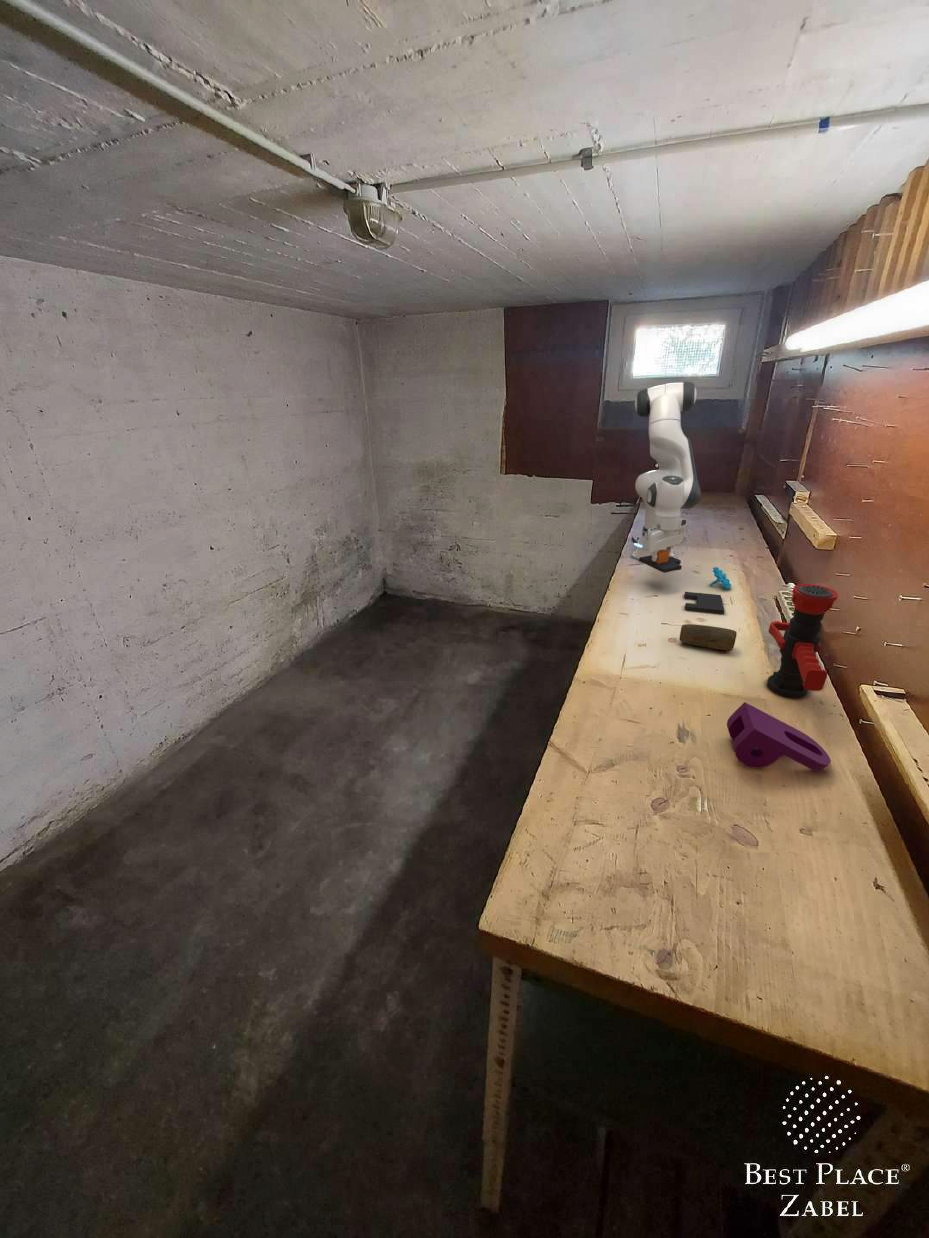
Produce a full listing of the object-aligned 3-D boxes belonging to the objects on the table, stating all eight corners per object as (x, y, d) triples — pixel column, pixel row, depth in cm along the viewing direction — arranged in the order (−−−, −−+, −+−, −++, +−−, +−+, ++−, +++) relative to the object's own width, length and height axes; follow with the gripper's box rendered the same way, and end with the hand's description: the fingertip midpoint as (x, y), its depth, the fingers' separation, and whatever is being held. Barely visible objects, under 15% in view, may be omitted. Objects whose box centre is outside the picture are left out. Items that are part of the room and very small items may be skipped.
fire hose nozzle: (809, 613, 101) (780, 572, 123) (778, 718, 114) (756, 664, 135) (864, 617, 99) (825, 575, 120) (826, 725, 111) (796, 669, 132)
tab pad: (638, 561, 188) (640, 547, 185) (662, 556, 191) (664, 543, 189) (663, 573, 176) (666, 558, 174) (689, 567, 180) (691, 553, 177)
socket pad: (684, 595, 180) (684, 591, 179) (720, 598, 176) (720, 594, 175) (685, 610, 168) (685, 606, 167) (723, 614, 164) (724, 610, 163)
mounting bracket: (792, 766, 107) (719, 727, 109) (821, 742, 103) (744, 701, 104) (806, 797, 99) (726, 755, 100) (837, 772, 95) (754, 728, 96)
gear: (729, 590, 178) (713, 567, 180) (715, 598, 182) (699, 576, 184) (735, 584, 186) (720, 563, 188) (721, 592, 190) (706, 571, 192)
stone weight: (733, 644, 145) (737, 625, 142) (733, 655, 140) (738, 635, 137) (679, 636, 151) (682, 617, 148) (677, 646, 146) (681, 627, 143)
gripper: (655, 530, 168) (649, 567, 175) (690, 519, 178) (684, 554, 185) (640, 526, 173) (635, 562, 179) (675, 516, 183) (669, 550, 189)
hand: (660, 558), depth 182 cm, fingers closed on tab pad, 5 cm apart
